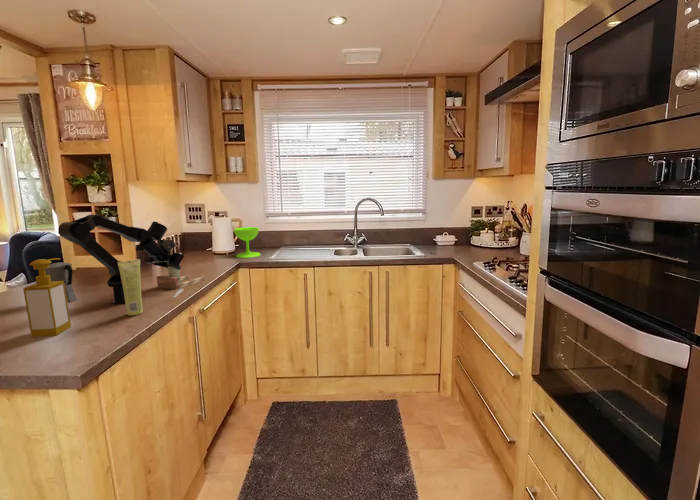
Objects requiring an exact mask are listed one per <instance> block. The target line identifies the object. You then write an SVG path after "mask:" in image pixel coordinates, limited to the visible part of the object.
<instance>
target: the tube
mask: <svg viewBox="0 0 700 500" xmlns="http://www.w3.org/2000/svg"><path fill="white" fill-rule="evenodd" d="M118 267H119V271H120V275H121V280H122V285H123V291H124V297H125V303H124V304H125V308H126V309H125V310H126V315H127V316H137V315H141V314H142V313H143V311H144V310H143V299H142V285H141V284H142V283H141V282H142V281H141V258H138V259H131V260H126V261H122V262H118Z"/></svg>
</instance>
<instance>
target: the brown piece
mask: <svg viewBox="0 0 700 500" xmlns="http://www.w3.org/2000/svg"><path fill="white" fill-rule="evenodd" d="M206 278H207V277H206V276H201V277H197V278H194V279H192V280H189V279H191V278H190V274H187V275H183V276H180V282H181V283H179V277H170V276H169V275H157V276H156V284H157V288H160V289H161V288H163V289H171V290H172V289H173V290H179V289H182V288H184V287H187V286H191V285H193V284H196V283H200V282H203V281H206V280H207V279H206ZM184 280H188V281H184ZM183 281H184V282H183Z"/></svg>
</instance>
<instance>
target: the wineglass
mask: <svg viewBox="0 0 700 500" xmlns="http://www.w3.org/2000/svg"><path fill="white" fill-rule="evenodd" d="M259 229H260V228H259V227H251V226H250V227H248V226H247V227H237V228H234V229H233V232H234V235H235V237H237V238H238V239H240V240H241V241H243V242H245V246H246V247H245V252H239V253H237V254H236V255H235V258H238V259H242V258H243V259H245V258H246V259H248V258H256V257H260V256H261V253H260V252H258V251H256V252H255V251H250V241H253V240H254V239H256V237H257V236H258V234H259Z"/></svg>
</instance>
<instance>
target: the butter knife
mask: <svg viewBox="0 0 700 500" xmlns="http://www.w3.org/2000/svg"><path fill="white" fill-rule="evenodd" d="M183 291H184V288H178V289H177V291H176V292H175V294H174V295H173V296H172V298H177V296H178V295H179V294H181V293H182V292H183Z"/></svg>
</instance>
